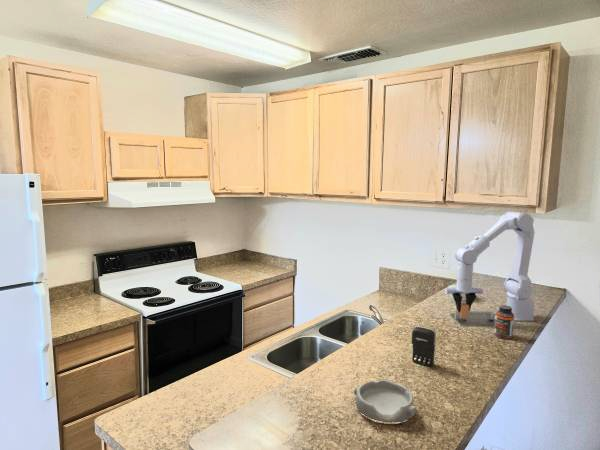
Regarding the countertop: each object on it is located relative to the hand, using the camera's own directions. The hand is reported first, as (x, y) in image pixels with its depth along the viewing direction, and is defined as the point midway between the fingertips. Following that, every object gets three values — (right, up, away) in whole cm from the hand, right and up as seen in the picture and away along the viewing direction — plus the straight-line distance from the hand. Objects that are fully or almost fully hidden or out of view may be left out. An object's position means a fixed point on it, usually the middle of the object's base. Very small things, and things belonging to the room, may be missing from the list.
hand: (463, 310), depth 155 cm
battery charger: (-28, -9, -35) cm, 45 cm away
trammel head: (0, -4, 0) cm, 4 cm away
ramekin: (+11, -1, +28) cm, 30 cm away
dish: (-45, -13, -58) cm, 75 cm away
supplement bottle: (+8, -6, -15) cm, 18 cm away
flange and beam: (+5, -4, 0) cm, 6 cm away
